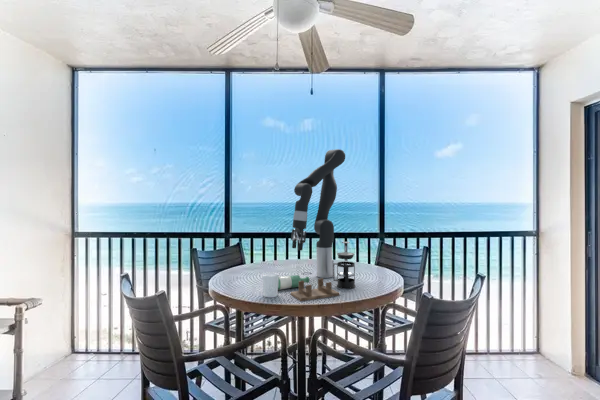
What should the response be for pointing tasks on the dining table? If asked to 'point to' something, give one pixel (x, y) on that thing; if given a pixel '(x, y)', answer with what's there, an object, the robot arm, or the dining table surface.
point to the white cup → (270, 284)
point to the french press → (345, 270)
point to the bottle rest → (314, 291)
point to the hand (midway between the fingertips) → (296, 249)
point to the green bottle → (291, 281)
